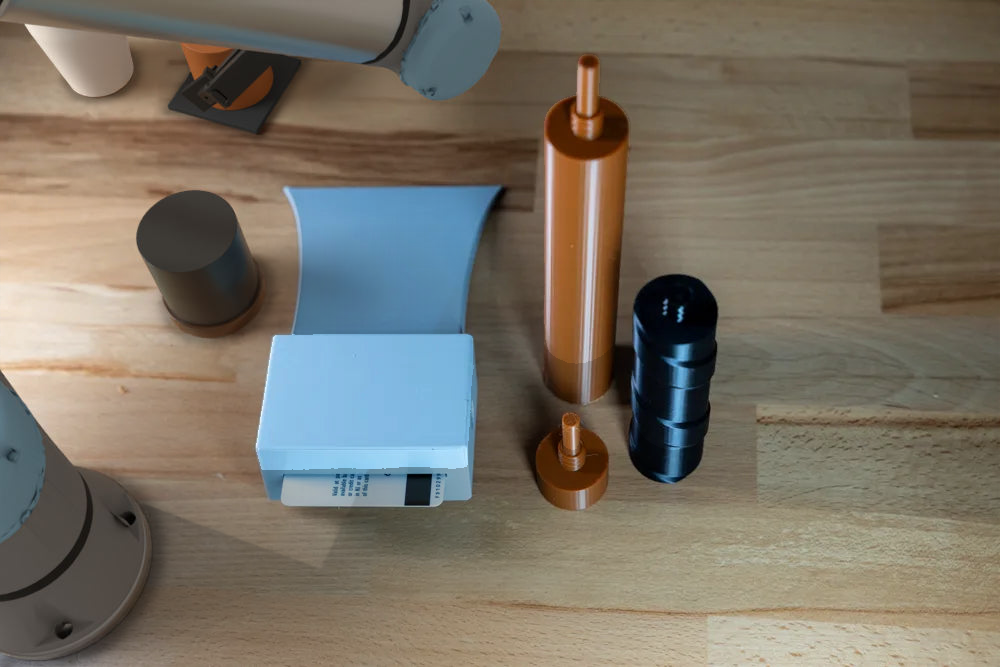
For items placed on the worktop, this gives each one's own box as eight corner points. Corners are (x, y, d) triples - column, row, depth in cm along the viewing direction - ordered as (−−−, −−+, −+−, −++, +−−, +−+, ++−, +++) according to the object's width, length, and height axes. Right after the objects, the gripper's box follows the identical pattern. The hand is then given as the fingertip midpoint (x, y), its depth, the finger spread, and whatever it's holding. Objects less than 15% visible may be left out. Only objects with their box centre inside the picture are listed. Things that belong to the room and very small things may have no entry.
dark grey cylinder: (237, 350, 103) (208, 288, 94) (148, 321, 105) (112, 257, 96) (283, 269, 107) (259, 203, 99) (196, 242, 109) (165, 175, 101)
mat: (257, 134, 116) (256, 130, 115) (168, 109, 118) (167, 105, 117) (302, 63, 120) (301, 59, 120) (215, 40, 122) (214, 36, 122)
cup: (99, 120, 117) (55, 33, 107) (39, 81, 120) (-10, -8, 110) (164, 65, 121) (127, -25, 110) (103, 28, 124) (62, -63, 114)
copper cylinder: (252, 118, 116) (232, 60, 109) (184, 99, 118) (161, 40, 111) (286, 64, 119) (269, 4, 112) (220, 46, 121) (199, -14, 114)
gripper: (314, 99, 94) (197, 169, 110) (432, -101, 106) (311, -11, 122) (240, 35, 90) (130, 118, 107) (370, -165, 102) (254, -63, 118)
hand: (227, 49), depth 114 cm, fingers open, 13 cm apart
